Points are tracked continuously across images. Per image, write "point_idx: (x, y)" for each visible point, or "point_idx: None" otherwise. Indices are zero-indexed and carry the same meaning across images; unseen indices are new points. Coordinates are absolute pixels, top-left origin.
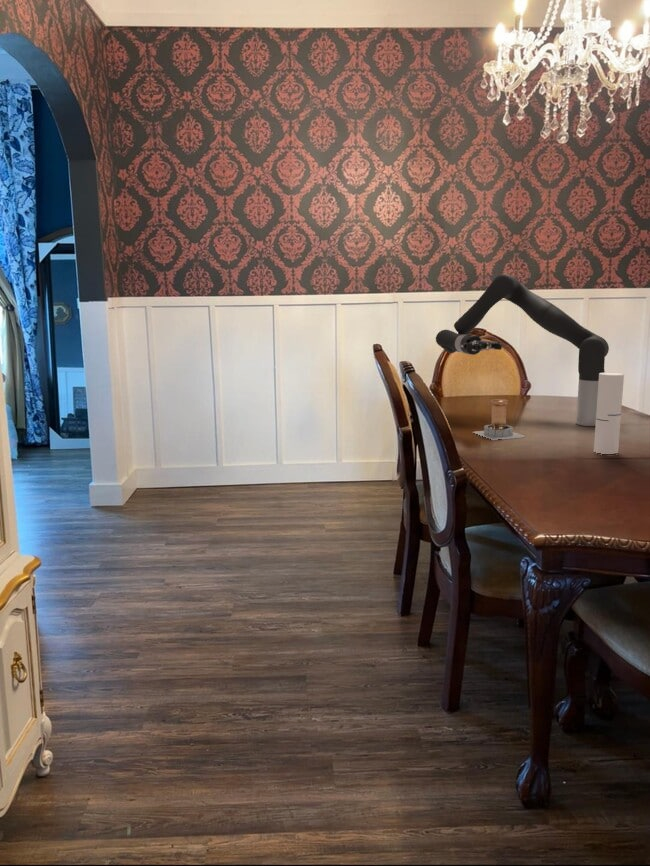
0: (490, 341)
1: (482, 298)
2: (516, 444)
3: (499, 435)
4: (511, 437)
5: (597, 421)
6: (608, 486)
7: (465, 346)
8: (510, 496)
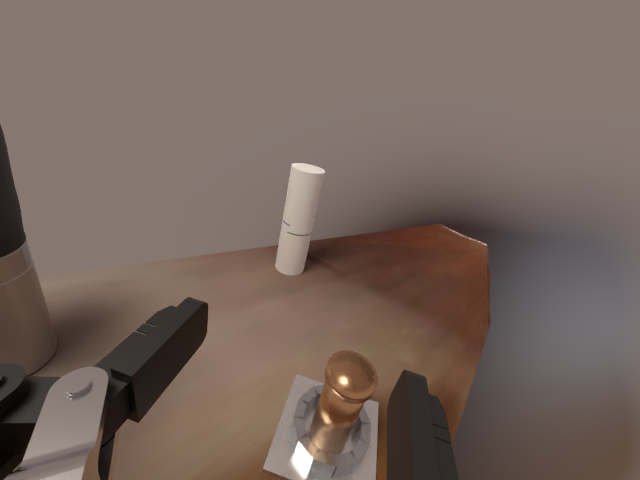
0: (48, 465)
1: None
2: None
3: None
4: None
5: (310, 236)
6: (391, 243)
7: None
8: (478, 270)
